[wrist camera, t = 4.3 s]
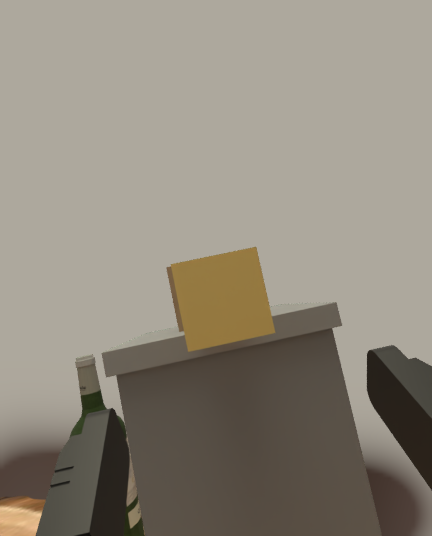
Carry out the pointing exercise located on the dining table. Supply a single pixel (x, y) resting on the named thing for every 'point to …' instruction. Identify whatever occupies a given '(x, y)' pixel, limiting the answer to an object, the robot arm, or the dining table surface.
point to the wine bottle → (94, 403)
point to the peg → (220, 299)
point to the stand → (245, 432)
